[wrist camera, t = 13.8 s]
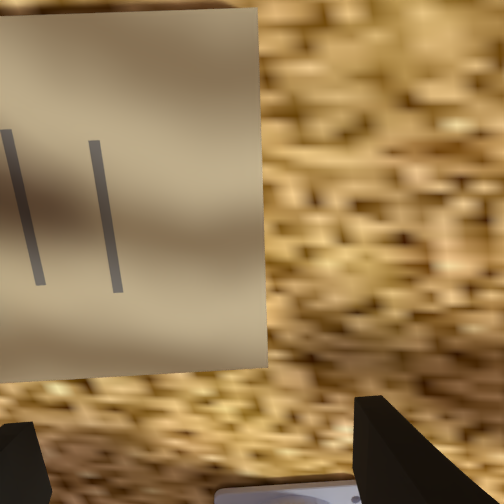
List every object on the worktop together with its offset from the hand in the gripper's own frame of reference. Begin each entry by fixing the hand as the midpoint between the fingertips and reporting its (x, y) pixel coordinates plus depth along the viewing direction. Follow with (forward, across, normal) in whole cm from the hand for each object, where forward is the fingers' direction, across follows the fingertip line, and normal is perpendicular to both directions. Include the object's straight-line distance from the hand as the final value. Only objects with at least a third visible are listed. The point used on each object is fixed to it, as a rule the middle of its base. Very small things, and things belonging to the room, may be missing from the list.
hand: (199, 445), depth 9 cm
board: (+9, +7, -3) cm, 12 cm away
